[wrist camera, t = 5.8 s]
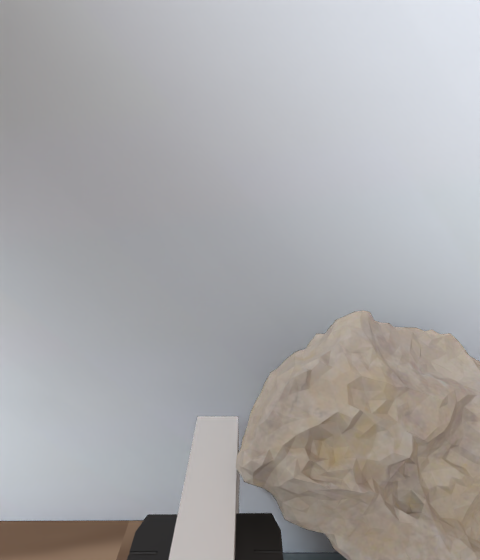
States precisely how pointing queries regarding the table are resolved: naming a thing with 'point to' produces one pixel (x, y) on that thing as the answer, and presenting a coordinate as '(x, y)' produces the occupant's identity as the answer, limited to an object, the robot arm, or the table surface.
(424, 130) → the table surface
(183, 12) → the table surface
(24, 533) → the block
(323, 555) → the tray
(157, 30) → the table surface
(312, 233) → the table surface
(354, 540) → the stone
